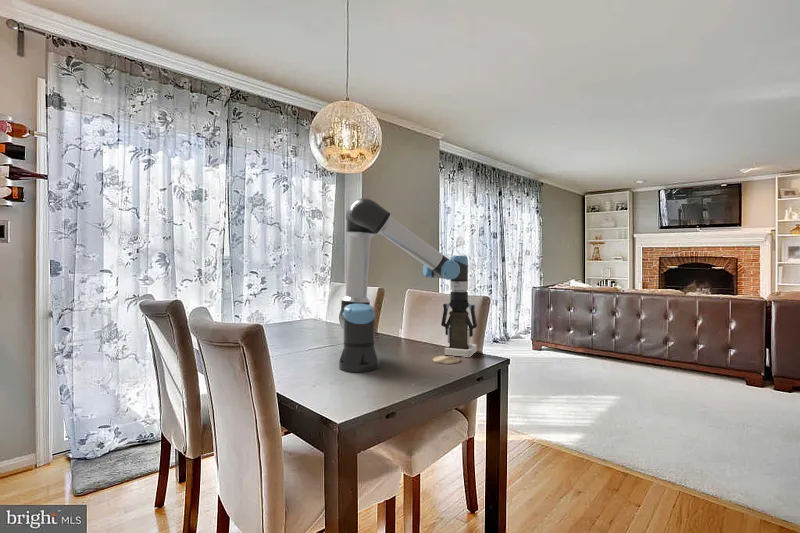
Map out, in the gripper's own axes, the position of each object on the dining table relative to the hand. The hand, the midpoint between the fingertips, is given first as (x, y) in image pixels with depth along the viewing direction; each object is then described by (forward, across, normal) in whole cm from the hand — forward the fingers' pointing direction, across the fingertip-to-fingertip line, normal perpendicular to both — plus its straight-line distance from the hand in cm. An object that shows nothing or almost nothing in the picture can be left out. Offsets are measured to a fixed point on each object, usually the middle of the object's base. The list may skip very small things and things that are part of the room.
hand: (459, 343), depth 183 cm
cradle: (+4, +1, 0) cm, 4 cm away
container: (+4, 0, 0) cm, 4 cm away
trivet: (+4, -2, -15) cm, 16 cm away
